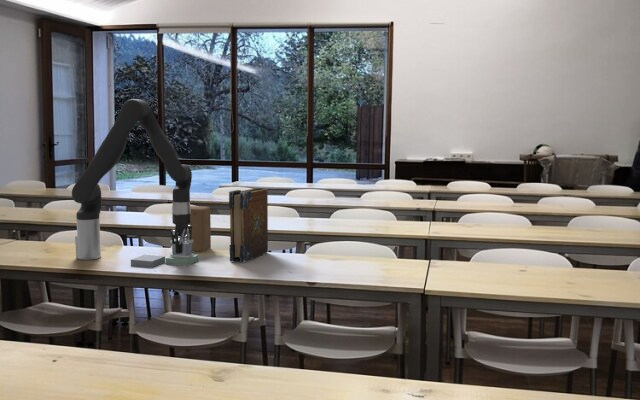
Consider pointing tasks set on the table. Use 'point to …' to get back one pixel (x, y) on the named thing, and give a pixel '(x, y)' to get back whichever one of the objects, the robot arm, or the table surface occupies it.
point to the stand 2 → (182, 260)
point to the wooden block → (200, 228)
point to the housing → (183, 249)
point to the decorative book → (248, 223)
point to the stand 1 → (147, 261)
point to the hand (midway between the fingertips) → (182, 251)
